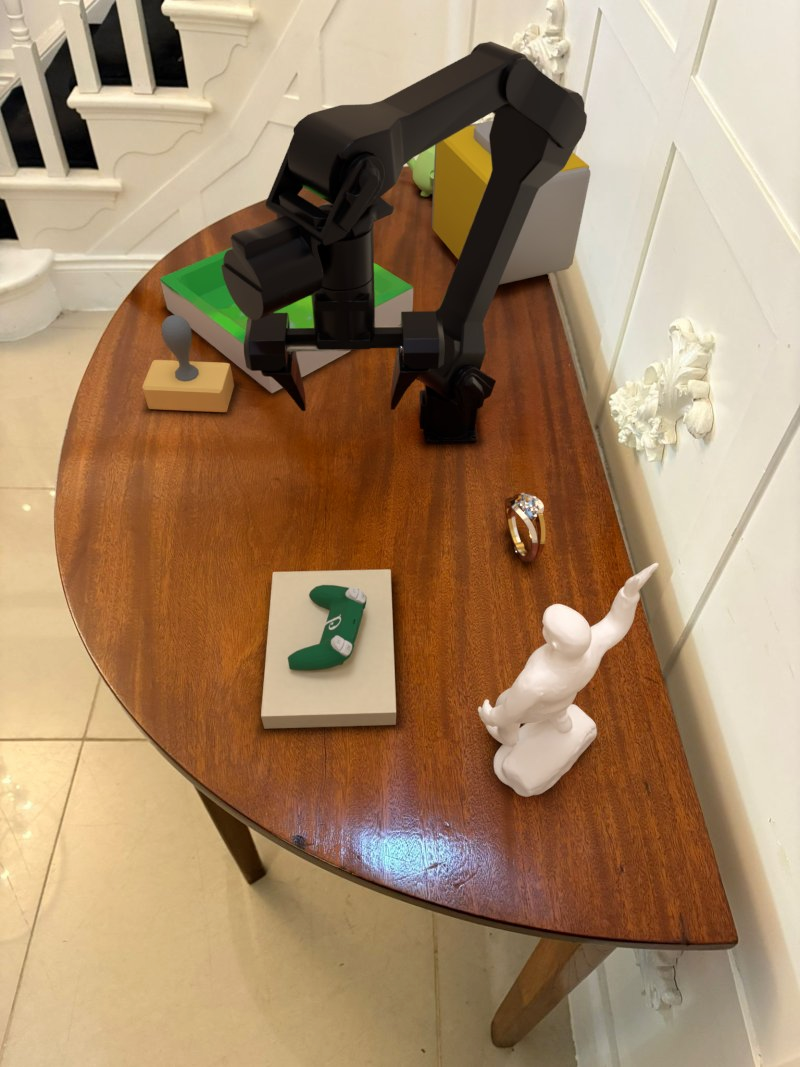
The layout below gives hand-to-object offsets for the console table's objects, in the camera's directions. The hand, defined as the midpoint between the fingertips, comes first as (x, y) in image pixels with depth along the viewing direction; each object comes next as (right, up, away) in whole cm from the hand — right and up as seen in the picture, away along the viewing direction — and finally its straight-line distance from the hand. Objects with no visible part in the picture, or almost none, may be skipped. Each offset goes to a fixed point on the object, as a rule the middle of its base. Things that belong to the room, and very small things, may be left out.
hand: (348, 407), depth 81 cm
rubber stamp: (-21, +4, +19) cm, 29 cm away
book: (-1, -25, -5) cm, 25 cm away
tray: (-10, +18, +31) cm, 38 cm away
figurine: (+17, -33, -11) cm, 39 cm away
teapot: (+12, +46, +55) cm, 73 cm away
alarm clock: (+21, +30, +41) cm, 55 cm away
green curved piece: (-1, -23, -7) cm, 24 cm away
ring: (+18, -15, +4) cm, 24 cm away
